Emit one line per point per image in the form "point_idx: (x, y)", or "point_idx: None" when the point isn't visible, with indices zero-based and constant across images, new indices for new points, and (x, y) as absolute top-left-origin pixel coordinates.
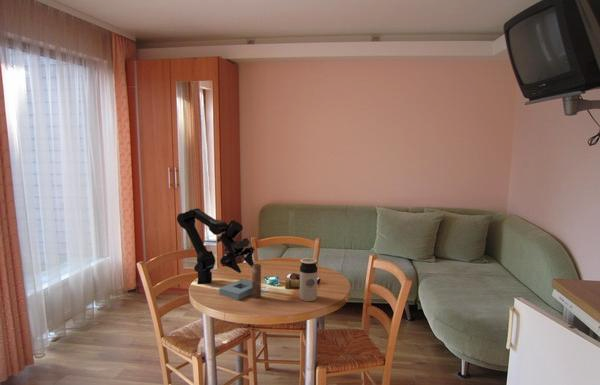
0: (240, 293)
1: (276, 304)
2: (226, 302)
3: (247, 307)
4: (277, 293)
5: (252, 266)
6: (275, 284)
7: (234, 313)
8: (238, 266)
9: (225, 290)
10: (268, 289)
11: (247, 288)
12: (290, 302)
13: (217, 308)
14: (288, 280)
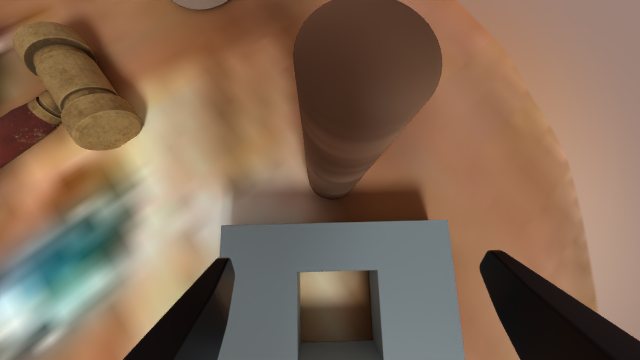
0: (426, 220)
1: None
2: None
3: (457, 123)
4: (229, 119)
5: (431, 93)
6: (112, 215)
7: (541, 125)
8: (571, 322)
9: (461, 343)
10: (206, 195)
11: (344, 238)
12: (288, 12)
13: (569, 231)
14: (90, 97)
